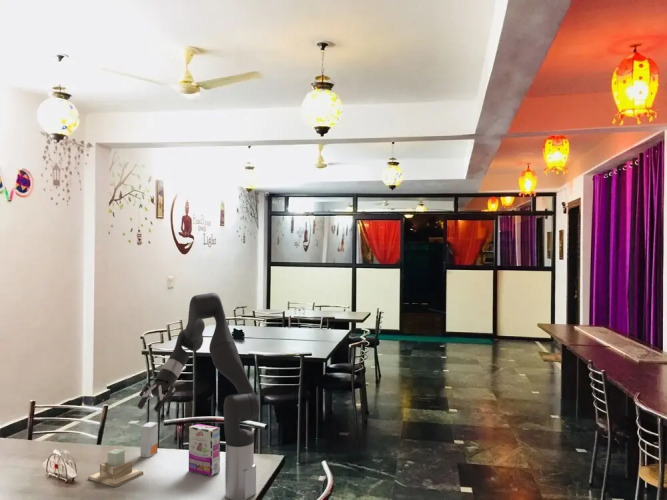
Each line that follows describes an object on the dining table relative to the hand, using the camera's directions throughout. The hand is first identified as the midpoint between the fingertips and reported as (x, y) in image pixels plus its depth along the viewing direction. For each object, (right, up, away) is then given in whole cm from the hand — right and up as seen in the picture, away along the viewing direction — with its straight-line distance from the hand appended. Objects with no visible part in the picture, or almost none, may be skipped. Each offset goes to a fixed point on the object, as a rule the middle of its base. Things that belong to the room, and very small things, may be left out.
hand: (147, 409), depth 199 cm
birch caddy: (-7, -21, -11) cm, 25 cm away
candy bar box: (+23, -21, -7) cm, 32 cm away
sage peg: (-7, -20, -11) cm, 24 cm away
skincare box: (-3, -21, +10) cm, 24 cm away
